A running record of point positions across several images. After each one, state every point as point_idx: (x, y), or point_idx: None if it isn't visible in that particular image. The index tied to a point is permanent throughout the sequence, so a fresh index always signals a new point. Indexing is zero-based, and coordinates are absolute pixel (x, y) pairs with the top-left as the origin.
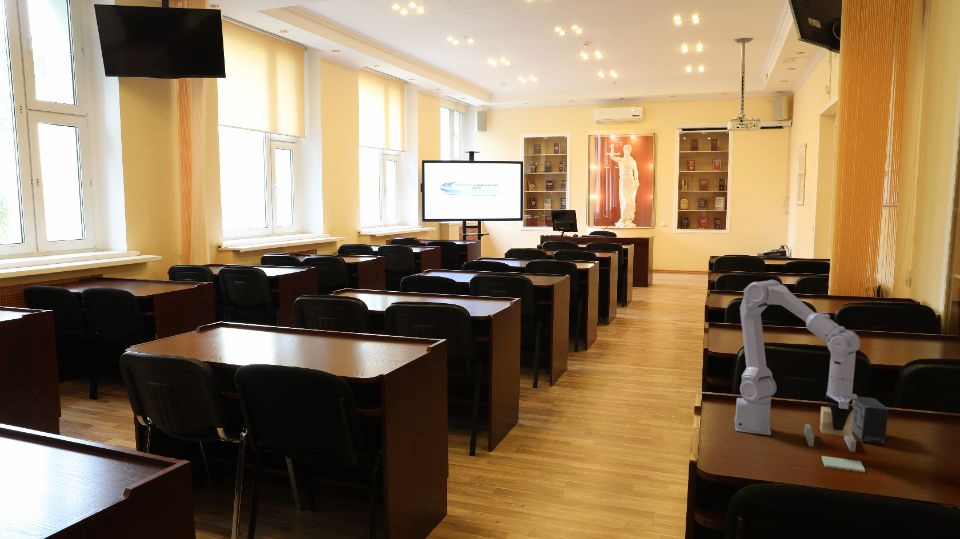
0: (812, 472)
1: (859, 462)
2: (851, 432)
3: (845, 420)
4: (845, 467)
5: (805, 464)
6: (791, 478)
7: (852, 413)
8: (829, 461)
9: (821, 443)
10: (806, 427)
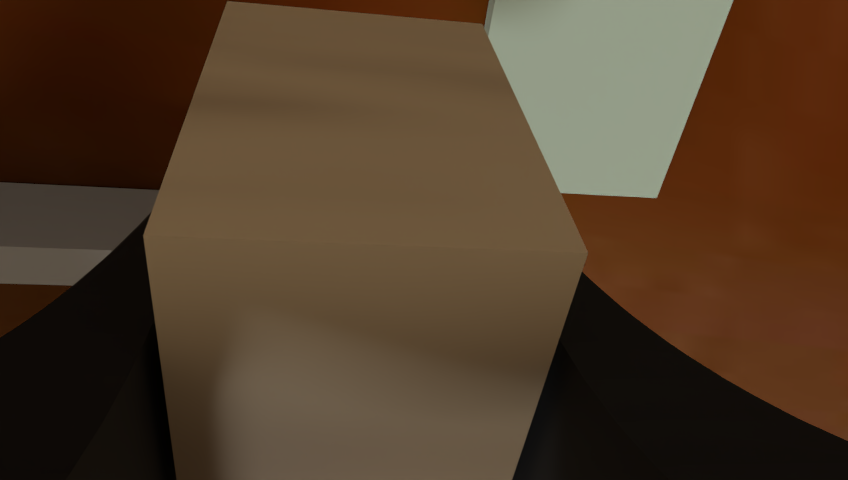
0: (750, 276)
1: None
2: (493, 56)
3: (602, 302)
4: (713, 50)
5: (611, 296)
6: (830, 382)
7: (485, 253)
8: (582, 152)
9: (24, 103)
10: None
